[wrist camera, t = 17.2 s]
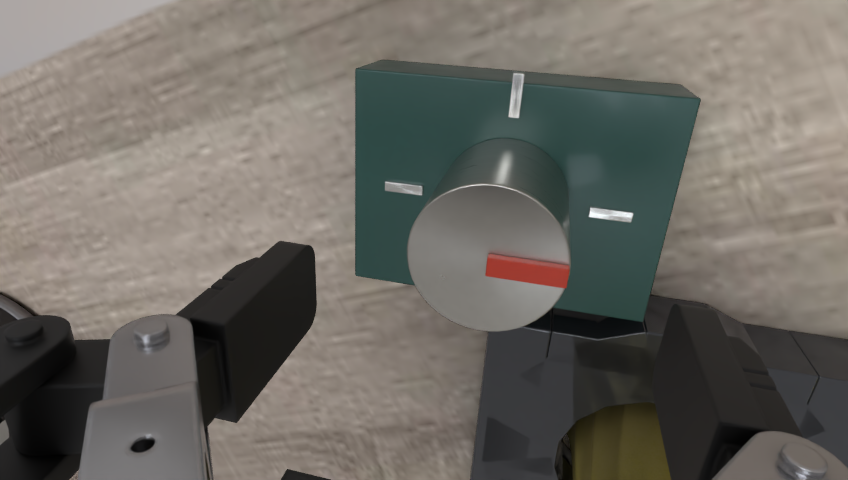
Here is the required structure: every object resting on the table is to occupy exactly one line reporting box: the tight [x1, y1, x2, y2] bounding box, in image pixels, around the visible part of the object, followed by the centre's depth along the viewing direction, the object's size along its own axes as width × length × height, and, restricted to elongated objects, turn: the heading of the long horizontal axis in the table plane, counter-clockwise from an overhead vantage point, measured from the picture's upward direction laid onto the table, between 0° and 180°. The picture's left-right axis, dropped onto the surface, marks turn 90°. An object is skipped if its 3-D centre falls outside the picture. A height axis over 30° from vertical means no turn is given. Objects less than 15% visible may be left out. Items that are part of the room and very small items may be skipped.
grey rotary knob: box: [407, 138, 571, 332], centre depth 17 cm, size 4×4×5 cm
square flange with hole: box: [470, 295, 848, 480], centre depth 24 cm, size 14×13×3 cm
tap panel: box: [355, 60, 701, 322], centre depth 20 cm, size 11×9×3 cm
